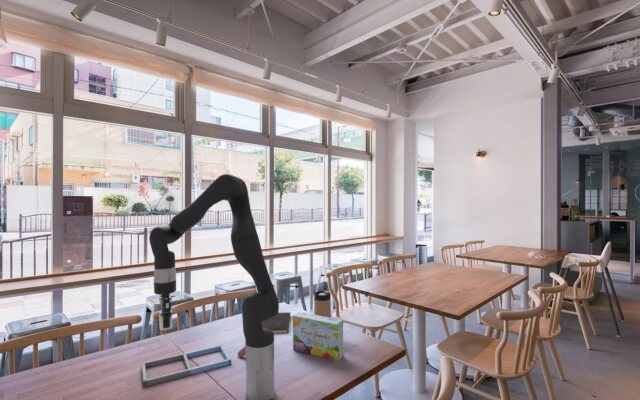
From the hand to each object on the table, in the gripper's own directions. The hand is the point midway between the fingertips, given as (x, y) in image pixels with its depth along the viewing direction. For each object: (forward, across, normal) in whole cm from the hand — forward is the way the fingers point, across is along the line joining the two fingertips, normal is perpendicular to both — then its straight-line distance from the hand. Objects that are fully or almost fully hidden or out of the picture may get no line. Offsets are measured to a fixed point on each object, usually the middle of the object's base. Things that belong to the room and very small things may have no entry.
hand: (165, 325), depth 124 cm
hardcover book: (+18, +22, -51) cm, 59 cm away
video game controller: (+17, -1, -31) cm, 36 cm away
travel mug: (+17, -4, -65) cm, 67 cm away
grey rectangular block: (+1, 0, 0) cm, 1 cm away
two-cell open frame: (+17, 0, -7) cm, 19 cm away
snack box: (+18, -17, -55) cm, 60 cm away
